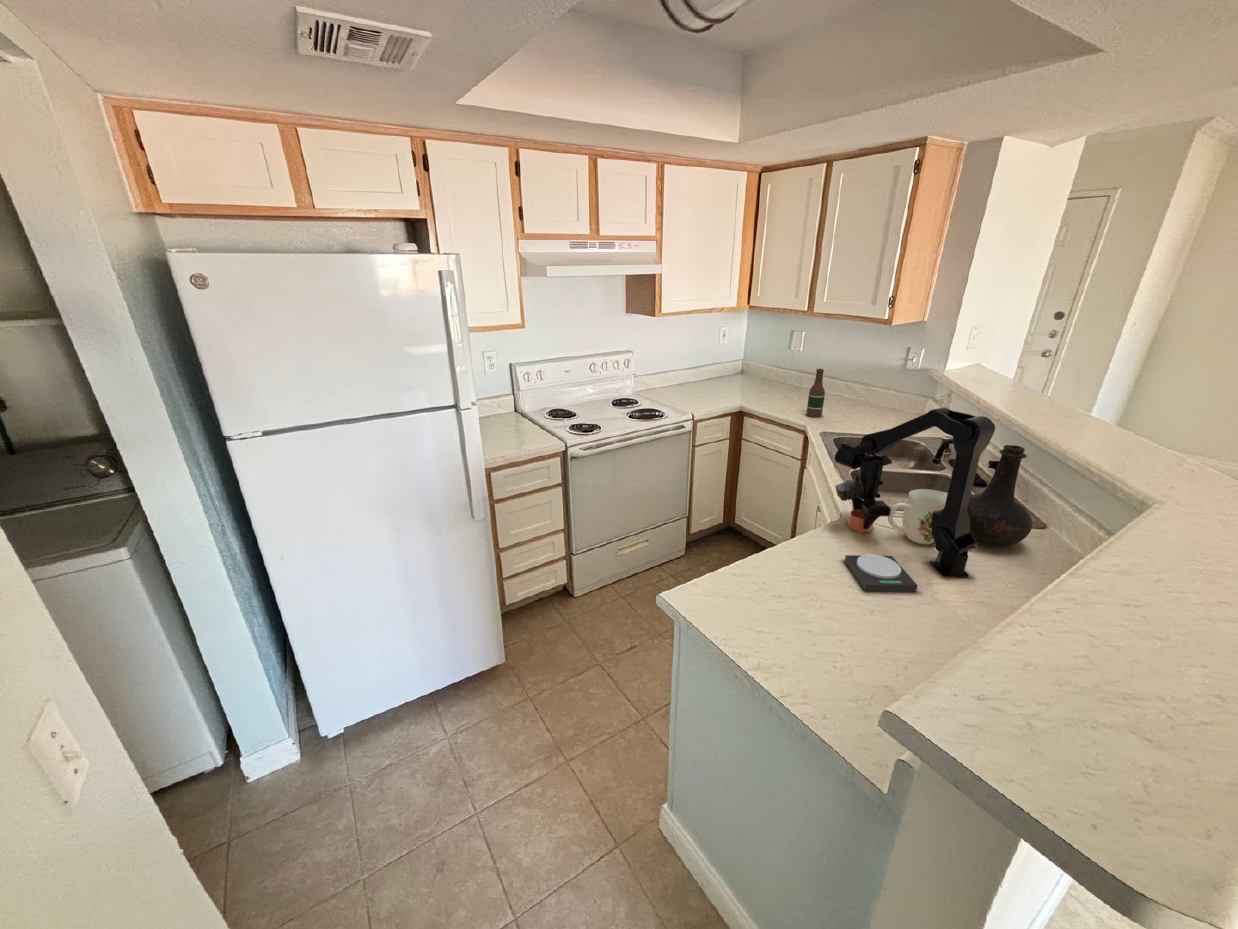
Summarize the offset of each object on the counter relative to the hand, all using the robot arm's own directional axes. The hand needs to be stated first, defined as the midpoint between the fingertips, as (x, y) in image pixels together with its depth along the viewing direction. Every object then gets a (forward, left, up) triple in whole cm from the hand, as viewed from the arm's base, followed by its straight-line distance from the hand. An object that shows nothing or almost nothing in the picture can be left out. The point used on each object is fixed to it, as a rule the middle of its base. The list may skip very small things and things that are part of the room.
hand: (860, 523), depth 148 cm
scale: (-25, +5, -2) cm, 26 cm away
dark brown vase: (-6, -33, -2) cm, 33 cm away
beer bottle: (+119, -25, -2) cm, 121 cm away
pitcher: (-6, -14, -2) cm, 15 cm away
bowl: (0, 0, -2) cm, 2 cm away
